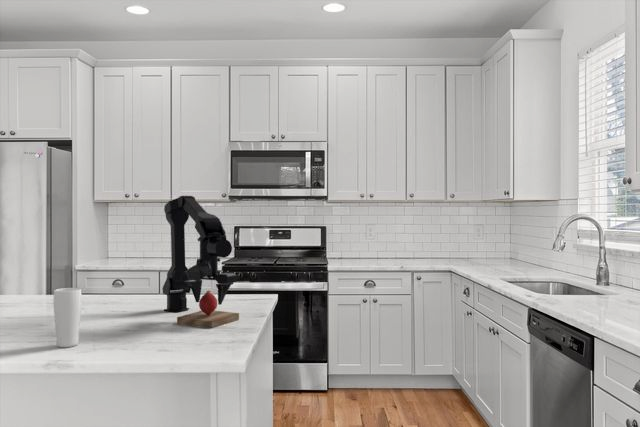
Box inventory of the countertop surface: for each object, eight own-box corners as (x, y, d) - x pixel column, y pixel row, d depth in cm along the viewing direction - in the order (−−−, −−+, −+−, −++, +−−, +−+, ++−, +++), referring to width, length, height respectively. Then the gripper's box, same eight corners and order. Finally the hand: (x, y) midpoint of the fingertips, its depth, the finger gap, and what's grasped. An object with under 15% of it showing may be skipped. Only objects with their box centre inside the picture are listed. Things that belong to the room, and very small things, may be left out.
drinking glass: (59, 342, 140) (59, 287, 140) (85, 342, 140) (85, 287, 140) (48, 349, 133) (48, 291, 133) (75, 348, 134) (75, 291, 134)
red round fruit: (213, 316, 163) (213, 291, 164) (196, 316, 164) (196, 291, 165) (220, 313, 169) (219, 289, 169) (203, 313, 170) (203, 289, 170)
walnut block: (177, 326, 164) (177, 317, 164) (205, 318, 176) (205, 309, 176) (212, 331, 157) (212, 321, 157) (238, 322, 170) (238, 313, 170)
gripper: (169, 256, 164) (169, 304, 164) (215, 258, 155) (215, 310, 155) (192, 253, 174) (192, 299, 174) (237, 256, 165) (237, 304, 165)
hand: (208, 303), depth 167 cm, fingers open, 9 cm apart
